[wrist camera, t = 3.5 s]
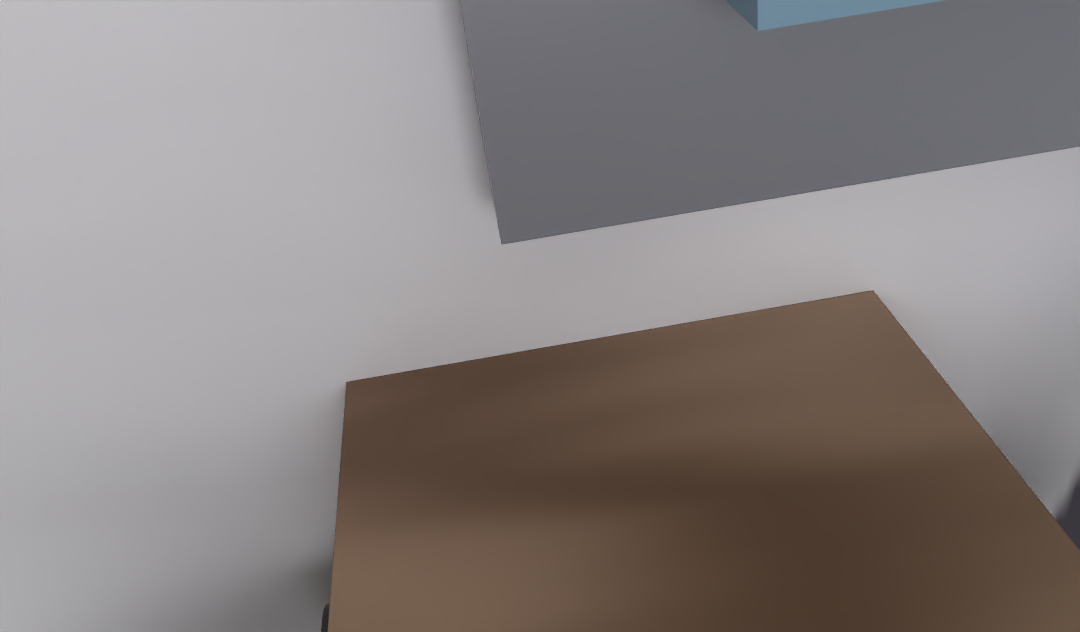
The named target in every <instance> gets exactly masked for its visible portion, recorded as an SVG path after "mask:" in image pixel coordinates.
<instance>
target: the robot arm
mask: <svg viewBox="0 0 1080 632" xmlns="http://www.w3.org/2000/svg"><path fill="white" fill-rule="evenodd" d="M329 609H330V603H327V604H326V605H325V608H324V611H323V618H322V628H321V632H328V622H329Z"/></svg>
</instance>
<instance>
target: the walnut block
mask: <svg viewBox="0 0 1080 632" xmlns="http://www.w3.org/2000/svg"><path fill="white" fill-rule="evenodd" d="M328 632H1080V550H1079V549H1078V548H1077V547H1076V545H1075V544H1074V543H1073V541H1072V540H1071V539H1070V538H1069V537H1068V535H1067V534H1066V533H1065V531H1064V530H1063V529H1062V528H1061V526H1060V525H1059V524H1058V523H1057V521H1056V520H1055V519H1054V518H1053V516H1052V515H1051V514H1050V513H1049V511H1048V510H1047V509H1046V507H1045V506H1044V505H1043V504H1042V502H1041V501H1040V500H1039V499H1038V497H1037V496H1036V495H1035V494H1034V492H1033V491H1032V490H1031V489H1030V487H1029V486H1028V485H1027V484H1026V482H1025V481H1024V480H1023V479H1022V477H1021V476H1020V475H1019V473H1018V472H1017V471H1016V470H1015V468H1014V467H1013V466H1012V465H1011V463H1010V462H1009V461H1008V460H1007V458H1006V457H1005V456H1004V455H1003V453H1002V452H1001V451H1000V450H999V448H998V447H997V446H996V445H995V443H994V442H993V441H992V439H991V438H990V437H989V436H988V434H987V433H986V432H985V431H984V429H983V428H982V427H981V426H980V424H979V423H978V422H977V421H976V419H975V418H974V417H973V416H972V414H971V413H970V412H969V411H968V409H967V408H966V407H965V405H964V404H963V403H962V402H961V400H960V399H959V398H958V397H957V395H956V394H955V393H954V392H953V390H952V389H951V388H950V387H949V385H948V384H947V383H946V382H945V380H944V379H943V378H942V377H941V375H940V374H939V373H938V371H937V370H936V369H935V368H934V366H933V365H932V364H931V363H930V361H929V360H928V359H927V358H926V356H925V355H924V354H923V353H922V351H921V350H920V349H919V348H918V346H917V345H916V344H915V343H914V341H913V340H912V339H911V337H910V336H909V335H908V334H907V332H906V331H905V330H904V329H903V327H902V326H901V325H900V324H899V322H898V321H897V320H896V319H895V317H894V316H893V315H892V314H891V312H890V311H889V310H888V309H887V307H886V306H885V305H884V303H883V302H882V301H881V300H880V298H879V297H878V296H877V295H876V293H875V292H874V291H867V292H862V293H856V294H850V295H844V296H839V297H833V298H827V299H821V300H816V301H810V302H804V303H798V304H793V305H787V306H781V307H775V308H770V309H764V310H758V311H752V312H747V313H741V314H735V315H729V316H724V317H718V318H712V319H706V320H701V321H695V322H689V323H683V324H678V325H672V326H666V327H660V328H655V329H649V330H643V331H637V332H632V333H626V334H620V335H614V336H609V337H603V338H597V339H591V340H586V341H580V342H574V343H568V344H563V345H557V346H551V347H545V348H540V349H534V350H528V351H522V352H517V353H511V354H505V355H499V356H494V357H488V358H482V359H476V360H471V361H465V362H459V363H453V364H448V365H442V366H436V367H430V368H425V369H419V370H413V371H407V372H402V373H396V374H390V375H384V376H379V377H373V378H367V379H361V380H356V381H350V382H346V395H345V409H344V422H343V435H342V449H341V462H340V475H339V489H338V502H337V515H336V529H335V542H334V555H333V569H332V582H331V595H330V609H329V622H328Z"/></svg>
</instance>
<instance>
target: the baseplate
mask: <svg viewBox="0 0 1080 632" xmlns="http://www.w3.org/2000/svg"><path fill="white" fill-rule="evenodd" d="M460 5H461V11H462V17H463V23H464V29H465V35H466V41H467V47H468V53H469V59H470V65H471V71H472V77H473V83H474V89H475V95H476V101H477V107H478V112H479V118H480V124H481V130H482V136H483V142H484V148H485V154H486V160H487V166H488V172H489V178H490V184H491V190H492V196H493V201H494V207H495V212H496V217H497V223H498V228H499V233H500V239H501V244H507V243H513V242H519V241H525V240H531V239H537V238H542V237H548V236H554V235H560V234H566V233H572V232H578V231H584V230H590V229H596V228H601V227H607V226H613V225H619V224H625V223H631V222H637V221H643V220H649V219H655V218H660V217H666V216H672V215H678V214H684V213H690V212H696V211H702V210H708V209H714V208H719V207H725V206H731V205H737V204H743V203H749V202H755V201H761V200H767V199H772V198H778V197H784V196H790V195H796V194H802V193H808V192H814V191H820V190H826V189H831V188H837V187H843V186H849V185H855V184H861V183H867V182H873V181H879V180H885V179H890V178H896V177H902V176H908V175H914V174H920V173H926V172H932V171H938V170H943V169H949V168H955V167H961V166H967V165H973V164H979V163H985V162H991V161H997V160H1002V159H1008V158H1014V157H1020V156H1026V155H1032V154H1038V153H1044V152H1050V151H1056V150H1061V149H1067V148H1073V147H1079V146H1080V0H460Z"/></svg>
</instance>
